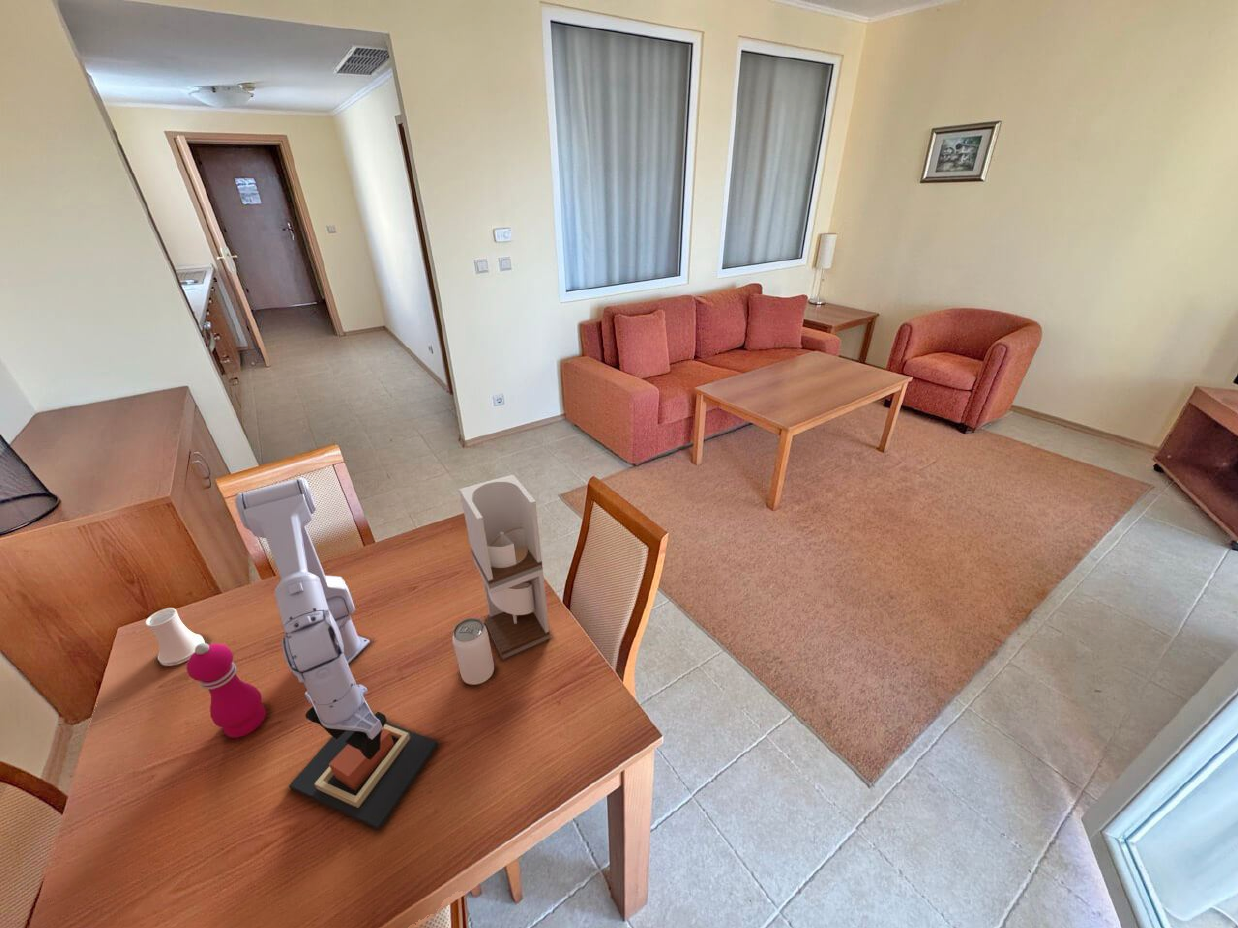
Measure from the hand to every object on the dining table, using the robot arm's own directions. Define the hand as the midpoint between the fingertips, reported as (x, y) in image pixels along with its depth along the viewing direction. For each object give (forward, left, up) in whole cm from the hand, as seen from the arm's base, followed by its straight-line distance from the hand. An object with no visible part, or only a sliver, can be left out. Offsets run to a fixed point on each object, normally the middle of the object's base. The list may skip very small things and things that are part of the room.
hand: (357, 742), depth 80 cm
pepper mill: (-27, -1, -7) cm, 28 cm away
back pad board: (0, 0, -6) cm, 6 cm away
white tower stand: (+9, +34, -7) cm, 36 cm away
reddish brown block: (0, 0, -5) cm, 5 cm away
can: (+7, +22, -7) cm, 24 cm away
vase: (-55, +6, -7) cm, 56 cm away
